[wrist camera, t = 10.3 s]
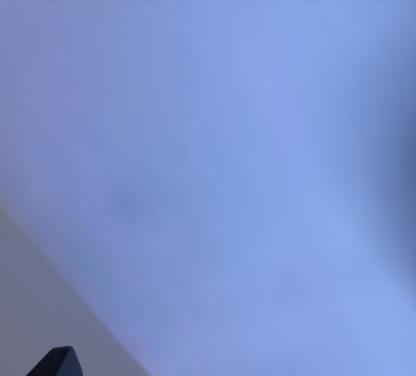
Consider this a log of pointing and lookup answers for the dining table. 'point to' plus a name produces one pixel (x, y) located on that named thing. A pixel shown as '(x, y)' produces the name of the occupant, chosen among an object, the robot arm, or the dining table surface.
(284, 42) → the dining table surface
